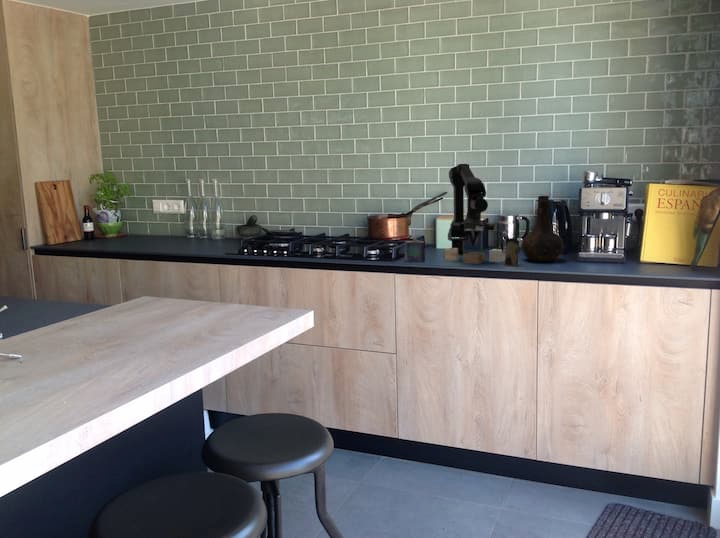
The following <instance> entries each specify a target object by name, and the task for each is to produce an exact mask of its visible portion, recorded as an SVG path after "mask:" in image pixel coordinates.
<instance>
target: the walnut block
mask: <svg viewBox="0 0 720 538" xmlns="http://www.w3.org/2000/svg"><path fill="white" fill-rule="evenodd" d="M485 254H486V253H485V252H478V251H469V252H465V253H463V254H462V263H464V264H471V265H472V264H476V265H477V264H478V265H479V264H481V263H484V262H485V260H486V257H485V256H486V255H485Z"/></svg>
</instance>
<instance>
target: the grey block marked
mask: <svg viewBox="0 0 720 538" xmlns="http://www.w3.org/2000/svg"><path fill="white" fill-rule="evenodd" d="M503 251H504V252H506V249H503ZM488 253H489V254H488V255H489V256H488V257H489V258H488V261H489V262H491V263H498V264H499V263H502V262H505V253H503V252H502V249H500V248H493V249H490V250H489V252H488Z"/></svg>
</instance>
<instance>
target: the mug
mask: <svg viewBox="0 0 720 538" xmlns="http://www.w3.org/2000/svg"><path fill="white" fill-rule="evenodd" d="M504 238H505V240H504ZM504 241H505V252H504V251H503V250H504ZM518 242H519V241H518V239H517V238H512V237H511V238H510V237H508V236H507V235H504V236H501V237H500V246H501V247H500V248H501V249H502V252H503V253H505V261H504V267H517V266H518V265H519V243H518Z"/></svg>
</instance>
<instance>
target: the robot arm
mask: <svg viewBox="0 0 720 538" xmlns="http://www.w3.org/2000/svg"><path fill="white" fill-rule="evenodd" d="M448 178H449V182H450V184H451V185H452V187H453V219H452V221H451V223H450V224H449V225H450V227H449V229H448V233H447V240H448V241H449V242H451V248H458V255H463V254H465V253H467V251H466V250H465V247H464V246H465V242H464V241H468V240H469V239H470V242H471V245H472V247H475V246H476V245H477V242H478V239H479V238H480V237H479V236H480V235H481V233H482V232H484V231H490V232H493V231H496V230H498V225H497V223H496V222H486V223H483V224H482V221H481V220H482V219H481V217H482V213H485V212H486V211H487V209H488V206H489V204H488V201H487V200H486V199H485V198H486V197H487V190H486V188H485V187H486V186H485V185H484V183H483V181H482V180H481V179H480V178H478V177H476V176H475V174H474V173H473V171H472V169H471V168H470V164H468V163H459V164H457V165H455V166H453V167H451V168H450V170H449V171H448ZM464 192H465V194H464ZM464 195H466V198H467V202H466V204H467V206H466V207H467V209H466V210H467V213H466V216H465V215H464V213H465V212H464V209H465V207H464V206H465V205H464V200H465V198H464ZM464 216H465V217H464Z"/></svg>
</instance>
